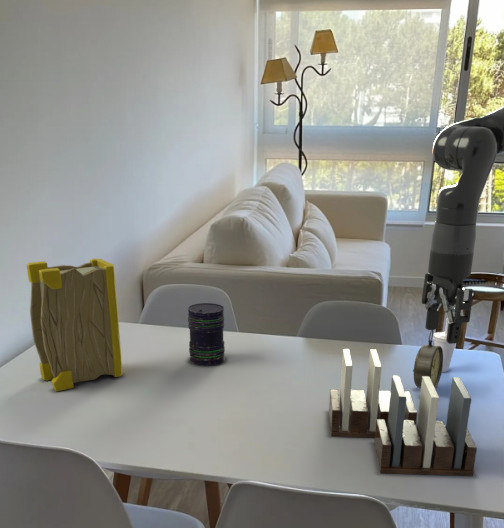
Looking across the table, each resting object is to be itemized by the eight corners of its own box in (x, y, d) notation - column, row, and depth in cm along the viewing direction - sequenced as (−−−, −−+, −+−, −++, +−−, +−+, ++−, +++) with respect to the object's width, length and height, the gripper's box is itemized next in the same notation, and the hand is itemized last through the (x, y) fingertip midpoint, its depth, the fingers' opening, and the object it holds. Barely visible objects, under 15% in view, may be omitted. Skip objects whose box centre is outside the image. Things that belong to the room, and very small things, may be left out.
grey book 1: (392, 442, 149) (399, 375, 142) (399, 467, 139) (406, 396, 132) (385, 442, 149) (392, 375, 142) (392, 466, 139) (399, 396, 132)
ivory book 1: (345, 410, 164) (349, 348, 157) (348, 430, 154) (352, 365, 147) (339, 410, 164) (342, 348, 157) (341, 430, 154) (345, 365, 147)
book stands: (445, 415, 164) (448, 391, 161) (473, 476, 138) (477, 448, 135) (328, 412, 165) (330, 388, 162) (334, 471, 139) (336, 444, 136)
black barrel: (200, 352, 203) (198, 301, 196) (230, 357, 199) (230, 305, 193) (183, 363, 195) (180, 310, 188) (214, 368, 191) (213, 314, 184)
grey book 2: (450, 443, 148) (459, 377, 142) (461, 469, 138) (471, 398, 132) (443, 443, 148) (452, 376, 142) (453, 468, 138) (463, 398, 132)
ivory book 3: (421, 443, 148) (429, 376, 142) (430, 468, 138) (439, 397, 132) (414, 442, 148) (422, 376, 142) (422, 467, 139) (431, 397, 132)
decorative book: (109, 364, 193) (99, 253, 180) (126, 376, 185) (117, 261, 172) (37, 379, 183) (21, 263, 170) (52, 393, 175) (36, 272, 162)
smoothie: (453, 366, 193) (459, 316, 187) (453, 374, 187) (460, 323, 181) (429, 364, 194) (435, 315, 188) (429, 372, 189) (435, 321, 183)
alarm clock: (428, 400, 171) (436, 336, 164) (407, 396, 174) (413, 333, 167) (441, 386, 180) (449, 324, 173) (420, 382, 182) (427, 321, 175)
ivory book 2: (371, 411, 163) (376, 349, 157) (375, 431, 153) (381, 366, 147) (365, 411, 163) (370, 349, 157) (369, 431, 153) (374, 366, 147)
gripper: (492, 255, 120) (478, 346, 127) (452, 240, 133) (441, 323, 140) (452, 257, 119) (440, 349, 126) (415, 241, 131) (406, 326, 138)
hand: (441, 335), depth 133 cm, fingers open, 8 cm apart
